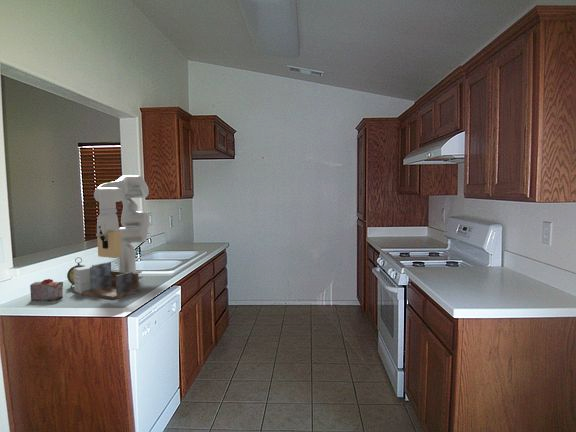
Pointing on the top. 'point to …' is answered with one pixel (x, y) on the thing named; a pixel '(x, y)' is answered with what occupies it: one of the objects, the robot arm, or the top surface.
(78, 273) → the supplement box
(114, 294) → the shelf
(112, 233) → the book
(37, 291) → the food item
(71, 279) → the alarm clock
